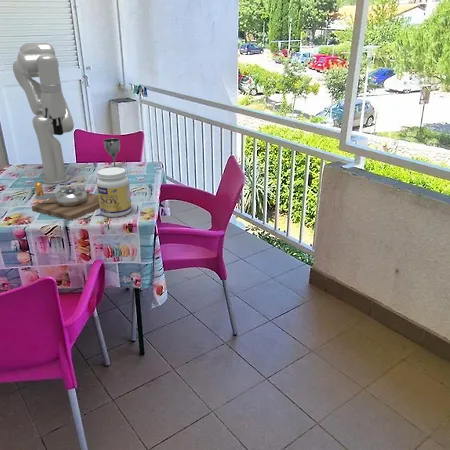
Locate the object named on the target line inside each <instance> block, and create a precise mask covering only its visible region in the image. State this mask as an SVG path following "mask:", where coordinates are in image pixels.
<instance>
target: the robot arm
mask: <svg viewBox="0 0 450 450" xmlns="http://www.w3.org/2000/svg"><path fill="white" fill-rule="evenodd" d="M12 71H13V73H14V74H13V75H14V78H15V79H16V82H17V83H18V84H19V86H20V87H21V89H23V92H24V93H25V95H26V99H27V102H28V104H29V108H30V109H31V112H32V113H33V115H35V116H34V117H33V118H32V126H33V129H34V133H35V135H36V139H37V143H38V146H39V152H40V159H41V163H42V168H43V170H42V171H41V172H40V175H43V177H42V180H41V181H42V183H44V184H48V185H54V184H56V185H57V184H62V183H65V182H68V181H69V180H70V179H71V176H70V175H69V174H67V173H66V167H65V160H64V156H63V148H62V144H61V142H60V140H59V139H58V138H57V137H55V136H62V135H64V134H66V133H71V132H72V131H73V130H74V127H75V123H74V120H73V117H72V113H71V112H70V109H69V106H68V103H67V101H66V99H65V97H64V95H63V90H62V84H61V83H62V82H61V77H60V71H59V60H58V58H57V57H56V52H55V48H54V47H53V45H52V44H50V43H48V42H29V43H24V44H22V45H21V46H20V47H19V51H18V54H17V60H15V61H14V62H13V64H12ZM34 78H39V82H38V81H37V80H35V79H34Z"/></svg>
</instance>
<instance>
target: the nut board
mask: <svg viewBox="0 0 450 450" xmlns="http://www.w3.org/2000/svg"><path fill="white" fill-rule="evenodd" d="M86 194H87V201H86V202H85V203H83V204H81V205H77V206H71V207H63V206H59V205H57V203H56V199H45V200H44V201H41V202H39V203H36V204H33V205H32V206H31V209H32V212H35V211H37V212H36V213H39V212H41V213H40V214H43V213H44V215H47V214H48V215H47V216H51V215H53V216H52V217H54V216H56V217H55V218H58V217H60V218H59V219H62V218H64V219H63V220H66V219H68V220H67V221H70V220H72V221H74V220H73V219H75V220H76V218H77V219H79V218H81V217H82V216H85V215H88V214H90V213H92V212H94V211H96V210H98V209H100V205H99V197H98V194H95V193H90V192H86ZM87 213H88V214H87ZM78 217H79V218H78Z"/></svg>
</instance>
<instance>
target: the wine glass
mask: <svg viewBox="0 0 450 450" xmlns="http://www.w3.org/2000/svg"><path fill="white" fill-rule="evenodd" d="M120 141H121V140H120V138H117V137H115V138H106V139H103V145H104V149H105V151H106V154H107V153H108V154H109V156H111V158H112V162H113V166H111V167H118V166H116V157H117V155H118V154H119V152H120V149H121V142H120ZM111 167H109V168H111ZM121 167H122V166H119V167H118V168H121Z"/></svg>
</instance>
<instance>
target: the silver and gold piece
mask: <svg viewBox="0 0 450 450" xmlns="http://www.w3.org/2000/svg"><path fill="white" fill-rule="evenodd" d="M33 185H34V189H35V194H36V195H35V200H36V201H37V200H49V199H56V203H57V205H59V206H63V207H71V206H77V205H81V204H83V203H85V202H86V201H87V194H86V193H87V190H86V186H84V185H78V186H76V187H69V188H68V187H67V186H61V187H58V190H59V191H56V192H54V193H53V192H52V193H48V192H47V193H44V190H43V189H44V188H43V184H42V182H41V181H37V182H36V181H35V182H34V184H33Z"/></svg>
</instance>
